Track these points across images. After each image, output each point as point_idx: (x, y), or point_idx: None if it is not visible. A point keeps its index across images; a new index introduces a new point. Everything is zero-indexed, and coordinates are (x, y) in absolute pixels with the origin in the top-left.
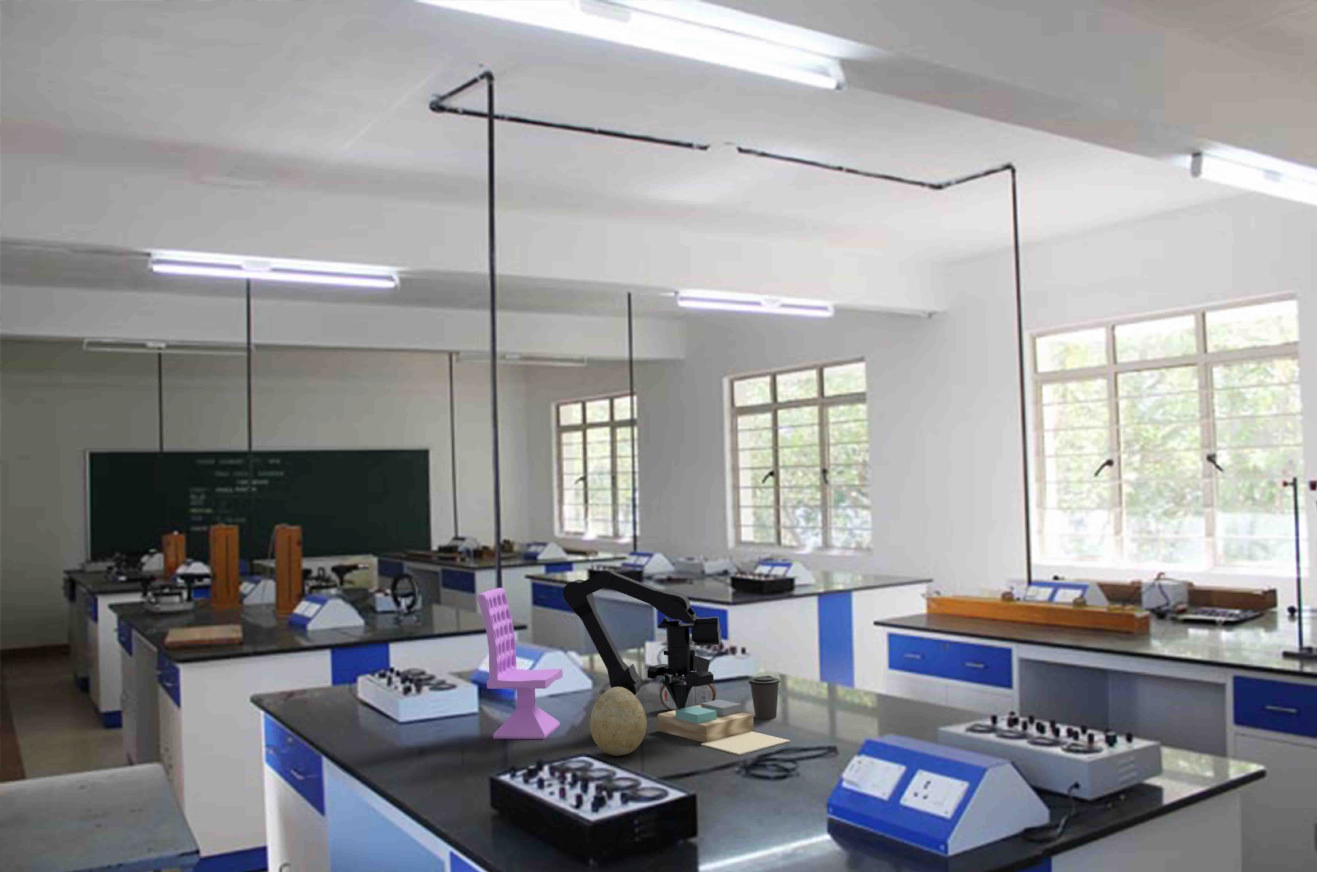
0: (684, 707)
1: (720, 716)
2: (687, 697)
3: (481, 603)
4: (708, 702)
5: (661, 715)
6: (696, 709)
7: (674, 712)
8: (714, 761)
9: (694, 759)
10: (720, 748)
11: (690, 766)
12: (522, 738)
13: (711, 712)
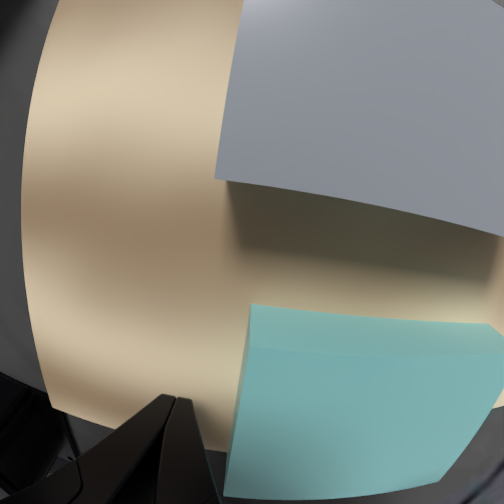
0: (196, 417)
1: (481, 242)
2: (217, 492)
3: None
4: (270, 78)
5: (87, 418)
6: (368, 426)
7: (74, 335)
8: (493, 455)
9: (450, 479)
10: (496, 404)
11: (454, 496)
12: None
13: (496, 392)
